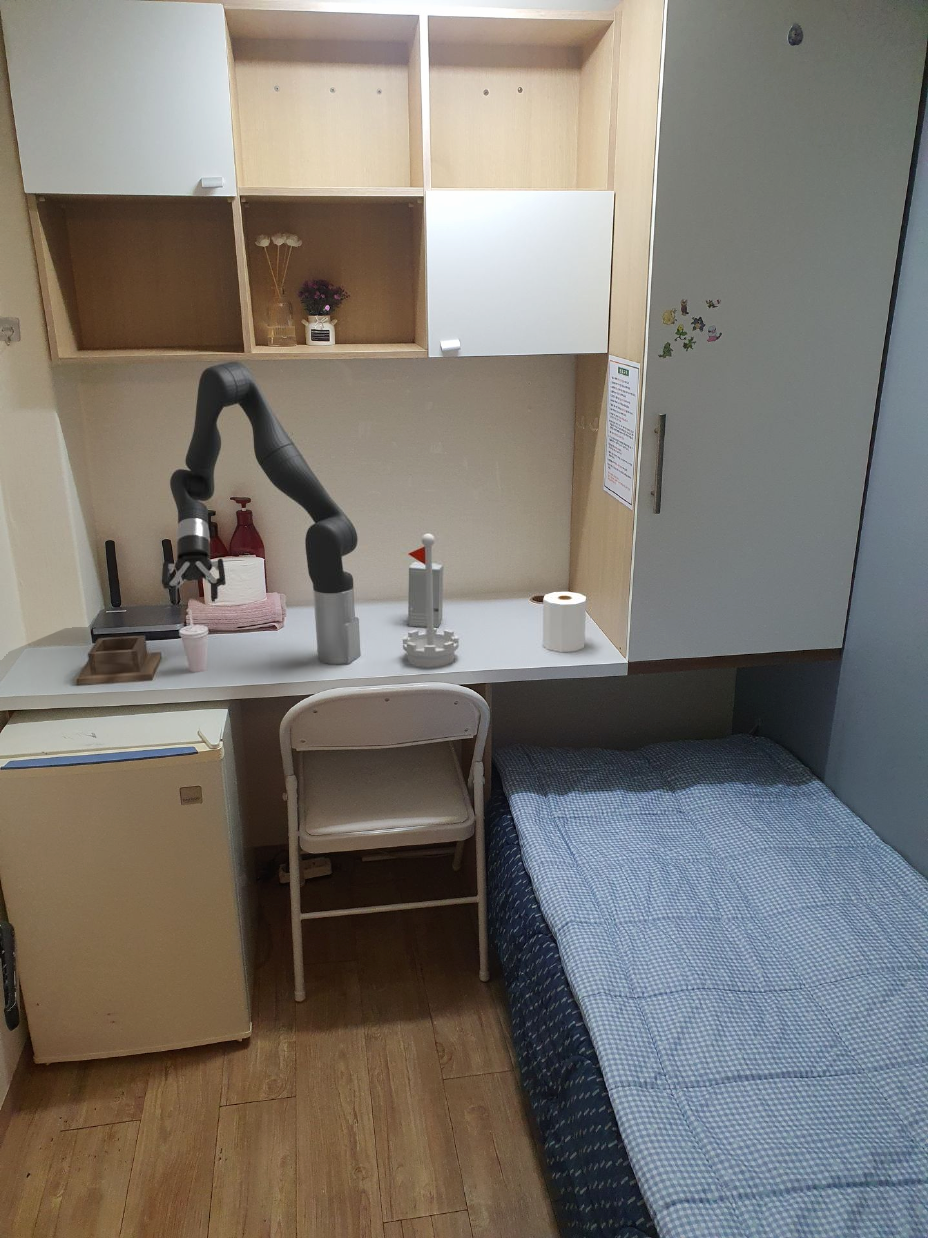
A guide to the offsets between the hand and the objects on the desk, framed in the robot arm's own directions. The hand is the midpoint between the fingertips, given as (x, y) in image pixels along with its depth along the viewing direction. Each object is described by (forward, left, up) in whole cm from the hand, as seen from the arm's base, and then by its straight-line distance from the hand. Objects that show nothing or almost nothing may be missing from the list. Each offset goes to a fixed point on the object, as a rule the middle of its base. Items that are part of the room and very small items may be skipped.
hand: (194, 601), depth 211 cm
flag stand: (-52, -18, -14) cm, 57 cm away
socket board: (+12, +13, -14) cm, 23 cm away
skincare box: (-41, -41, -14) cm, 59 cm away
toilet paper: (-79, -37, -14) cm, 88 cm away
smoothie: (-4, +6, -14) cm, 16 cm away
